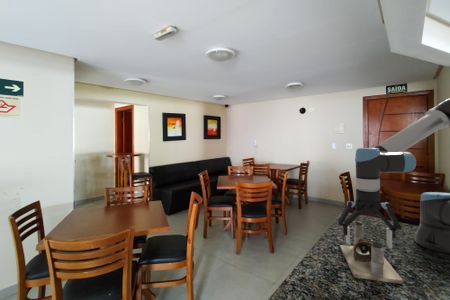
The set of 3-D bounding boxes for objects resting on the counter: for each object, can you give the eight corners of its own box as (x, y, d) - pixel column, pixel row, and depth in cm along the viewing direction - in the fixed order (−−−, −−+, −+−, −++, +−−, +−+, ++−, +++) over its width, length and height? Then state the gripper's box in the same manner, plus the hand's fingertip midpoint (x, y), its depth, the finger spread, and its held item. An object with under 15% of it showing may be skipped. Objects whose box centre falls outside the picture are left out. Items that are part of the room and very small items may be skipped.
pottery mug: (392, 269, 77) (384, 252, 75) (365, 278, 79) (356, 261, 77) (373, 245, 88) (366, 230, 86) (350, 253, 90) (342, 238, 88)
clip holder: (376, 251, 91) (377, 222, 90) (403, 285, 70) (404, 248, 69) (339, 247, 95) (339, 219, 94) (354, 278, 74) (354, 243, 73)
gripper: (402, 187, 81) (402, 243, 82) (329, 186, 88) (330, 237, 89) (413, 192, 74) (413, 253, 75) (332, 190, 81) (333, 246, 82)
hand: (368, 244), depth 82 cm, fingers open, 13 cm apart
